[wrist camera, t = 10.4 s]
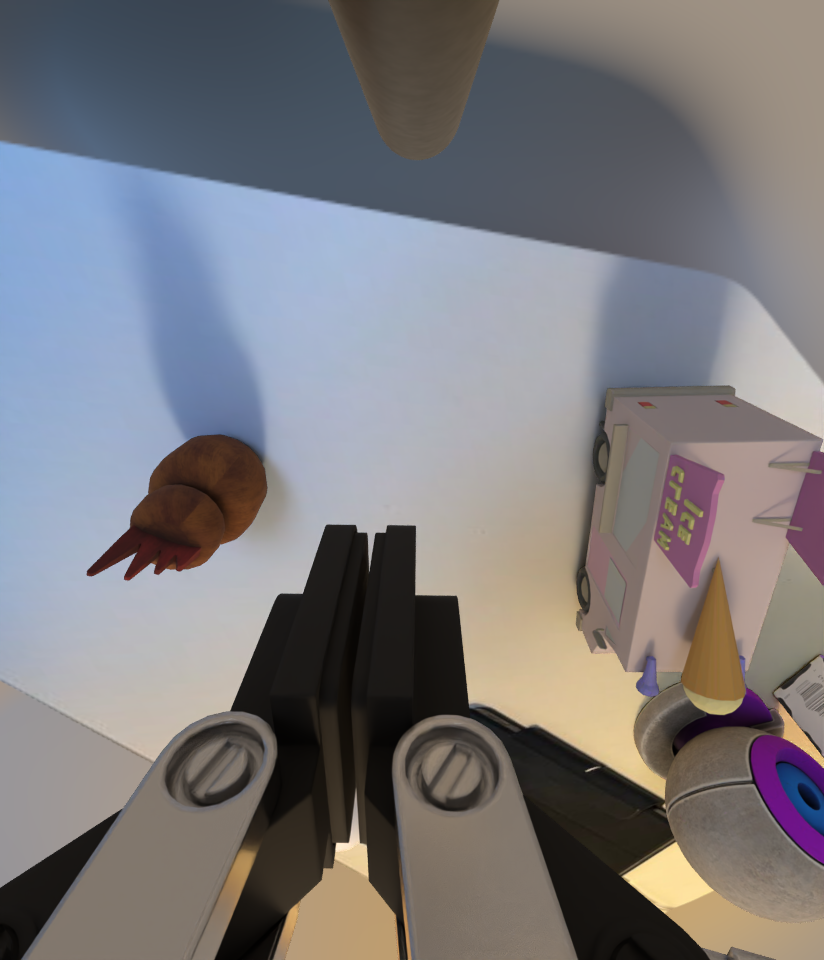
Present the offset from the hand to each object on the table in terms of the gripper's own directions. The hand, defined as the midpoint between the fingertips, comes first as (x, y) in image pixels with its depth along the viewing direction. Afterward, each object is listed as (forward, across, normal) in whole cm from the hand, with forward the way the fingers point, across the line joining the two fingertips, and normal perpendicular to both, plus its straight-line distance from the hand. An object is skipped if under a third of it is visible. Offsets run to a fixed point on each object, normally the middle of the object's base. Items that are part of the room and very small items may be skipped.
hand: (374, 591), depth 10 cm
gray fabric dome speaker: (+27, -28, +36) cm, 53 cm away
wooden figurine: (+27, +13, +9) cm, 31 cm away
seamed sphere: (+27, +5, +43) cm, 51 cm away
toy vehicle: (+27, -17, +12) cm, 34 cm away
